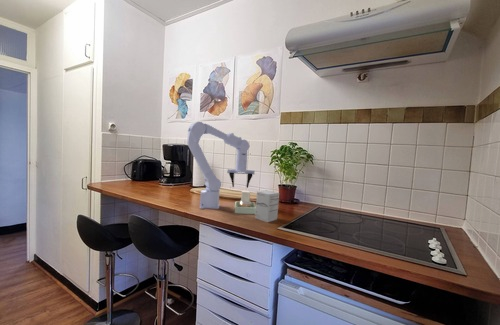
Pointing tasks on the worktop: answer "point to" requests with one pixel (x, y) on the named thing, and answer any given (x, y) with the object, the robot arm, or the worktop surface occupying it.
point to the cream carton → (245, 196)
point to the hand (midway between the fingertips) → (240, 187)
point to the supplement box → (267, 205)
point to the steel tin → (245, 204)
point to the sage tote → (245, 208)
